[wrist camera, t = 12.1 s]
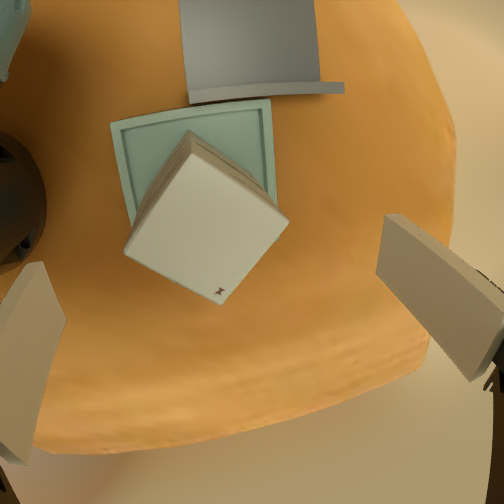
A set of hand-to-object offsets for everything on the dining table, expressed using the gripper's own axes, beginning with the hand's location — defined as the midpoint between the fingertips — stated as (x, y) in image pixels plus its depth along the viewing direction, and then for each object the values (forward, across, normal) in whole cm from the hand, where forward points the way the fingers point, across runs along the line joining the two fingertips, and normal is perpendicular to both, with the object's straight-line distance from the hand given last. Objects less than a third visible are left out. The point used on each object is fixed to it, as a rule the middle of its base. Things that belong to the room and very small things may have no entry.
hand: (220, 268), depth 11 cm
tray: (+20, 0, -2) cm, 20 cm away
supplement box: (+20, 0, -2) cm, 20 cm away
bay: (+20, +6, +14) cm, 25 cm away
